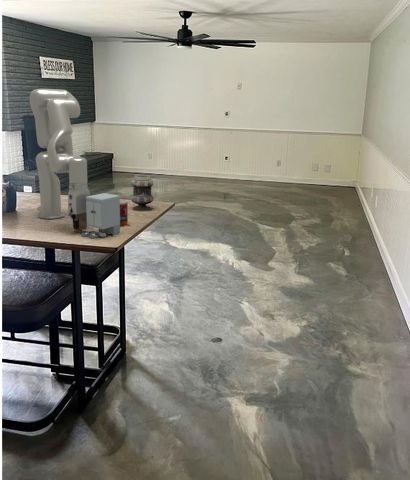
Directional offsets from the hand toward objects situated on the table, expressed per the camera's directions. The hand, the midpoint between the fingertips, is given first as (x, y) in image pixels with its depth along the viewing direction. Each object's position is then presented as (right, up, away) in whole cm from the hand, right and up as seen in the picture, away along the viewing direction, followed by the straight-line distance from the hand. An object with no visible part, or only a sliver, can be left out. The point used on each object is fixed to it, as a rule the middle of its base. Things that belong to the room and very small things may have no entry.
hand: (80, 227), depth 215 cm
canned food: (+15, +2, +15) cm, 21 cm away
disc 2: (+8, -5, -7) cm, 11 cm away
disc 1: (+4, -4, -5) cm, 8 cm away
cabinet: (+11, -3, -2) cm, 11 cm away
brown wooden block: (+5, -3, -2) cm, 6 cm away
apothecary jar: (+21, +11, +48) cm, 53 cm away
